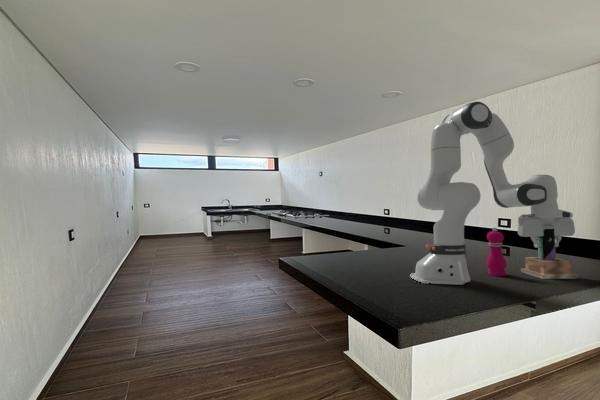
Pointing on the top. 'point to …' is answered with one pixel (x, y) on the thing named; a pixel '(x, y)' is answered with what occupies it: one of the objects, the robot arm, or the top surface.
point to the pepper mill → (496, 254)
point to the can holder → (549, 268)
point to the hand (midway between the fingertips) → (546, 247)
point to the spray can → (547, 244)
